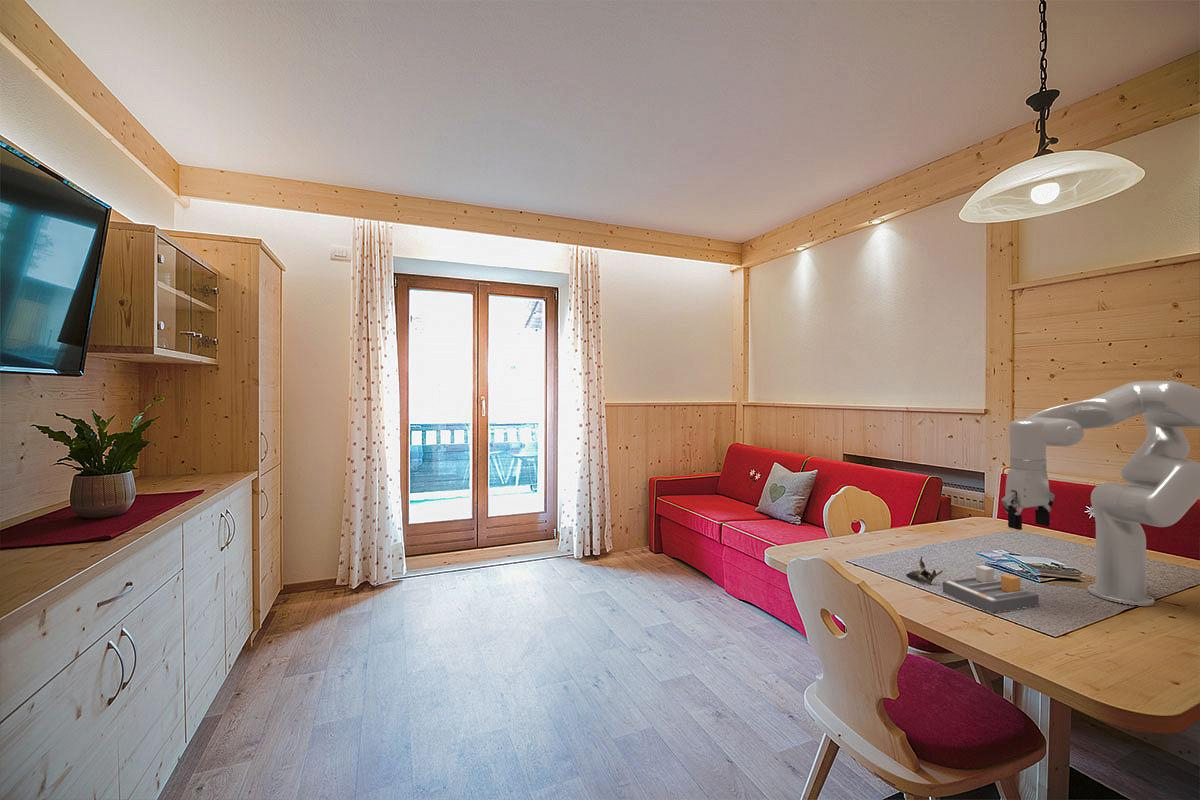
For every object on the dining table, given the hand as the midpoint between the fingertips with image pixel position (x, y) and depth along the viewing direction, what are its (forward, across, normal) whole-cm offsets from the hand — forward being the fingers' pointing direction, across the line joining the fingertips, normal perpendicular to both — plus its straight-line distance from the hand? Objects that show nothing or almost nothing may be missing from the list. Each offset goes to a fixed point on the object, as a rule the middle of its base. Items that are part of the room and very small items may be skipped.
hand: (1028, 526), depth 134 cm
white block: (+17, +6, -7) cm, 20 cm away
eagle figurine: (+20, +15, -20) cm, 32 cm away
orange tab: (+17, +6, 0) cm, 18 cm away
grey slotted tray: (+20, +10, -4) cm, 23 cm away
